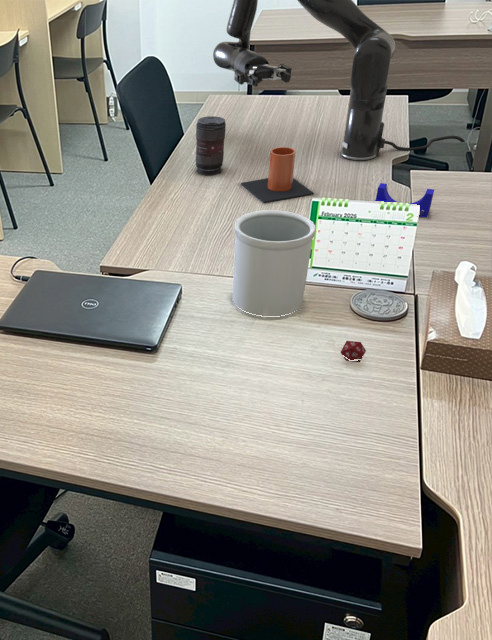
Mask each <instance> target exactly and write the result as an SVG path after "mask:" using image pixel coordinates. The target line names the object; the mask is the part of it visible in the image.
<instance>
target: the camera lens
mask: <svg viewBox="0 0 492 640" xmlns="http://www.w3.org/2000/svg"><path fill="white" fill-rule="evenodd" d="M195 126H196V128H195V139H196V145H195V146H196V147H195V167H196V170H197V173H198V174H200V175H203V176H213V175H217V174H219V173H220V172H221V171H222V167H223V165H224V154H225V152H224V151H225V150H224V149H225V147H224V146H225V139H226V128H227V127H226V126H227V123H226V119H225V118H224V117H221V116H213V115H211V116H210V115H209V116H203V117H199V118H198V119H197V122H196V125H195Z"/></svg>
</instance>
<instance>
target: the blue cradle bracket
mask: <svg viewBox="0 0 492 640" xmlns="http://www.w3.org/2000/svg"><path fill="white" fill-rule="evenodd" d="M434 192H435V189H432V188H426V190H425V192H424V195H423V196H422V197H421V198H420V199H419V200H416V201H414V202H411V203H409V204H417V205H420V215H419V217H418V218H425V219H427V218H428V217H429V214H430V210H431V206H432V202H433V197H434ZM374 201H384V202H398V201H397V200H395V199H393V198H392V196H391V195H390V193H389V191H388V184H387V183H384V182H380V183H379V185H378V187H377V190H376V195H375V199H374Z"/></svg>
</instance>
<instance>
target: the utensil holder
mask: <svg viewBox="0 0 492 640" xmlns="http://www.w3.org/2000/svg"><path fill="white" fill-rule="evenodd" d="M234 234H235V238H234V240H235V241H234V257H233V258H234V259H233V260H234V261H233V275H232V305H233V306H234V308H235V310H237V311H238V312H240V313H241V314H242V315H245V316H247V317H249V318H252V319H257V320H263V321H280V320H285V319H288V318H292V317H293V316H295V315H297V314H298V313H299V312H300V310H301V308H302V305H303V300H304V295H305V289H306V284H307V278H308V272H309V266H310V258H311V253H312V245H313V239H314V238H315V235H316V225H315V222H313V221H312V220H311V219H310V218H308V217H306V216H304V215H302V214H299V213H296V212H292V211H288V210H280V209H279V210H277V209H264V210H263V209H262V210H255V211H252V212H248V213H244V214H243V215H241V216H239V217H238V218H237V219H236V220H235V222H234ZM233 301H234V302H233ZM234 303H235V304H236V305H237V306H238V307H239V308H241V309H242V310H244V311H246V312H249V313H252V314H256V315H262V316H280V317H261V316H256V315H252V314H249V313H246V312H244V311H242V310H241V309H239V308H238V307H237V306H236V305H235V304H234ZM296 310H297V311H296ZM294 311H295V312H294ZM292 312H293V313H292ZM289 313H291V314H289ZM285 314H289V315H285ZM281 315H285V316H281Z"/></svg>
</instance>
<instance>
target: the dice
mask: <svg viewBox="0 0 492 640" xmlns="http://www.w3.org/2000/svg"><path fill="white" fill-rule="evenodd" d="M366 352H367V350H366V348H365V347H364V345H363V343H362V342H361V341H353V340H346V341H345V343H344V344H343V347H342V348H341V350H340V354H341V356H342V355H344V356H345V357H347V358H348V359H350V360H354V359H361V360H358V361H349V360H348V359H346V358H345V357H343V359H344V360H345V362H351V363H353V362H354V363H361V361H362V360H363V357H364V356H365V354H366ZM362 356H363V357H362Z"/></svg>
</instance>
